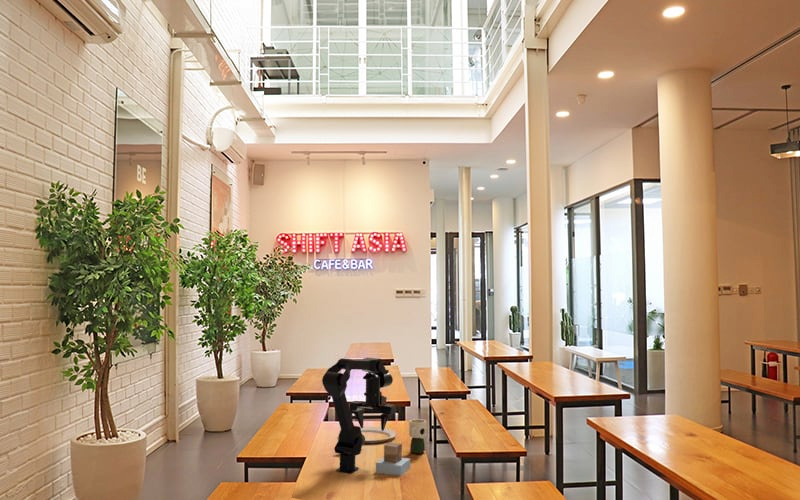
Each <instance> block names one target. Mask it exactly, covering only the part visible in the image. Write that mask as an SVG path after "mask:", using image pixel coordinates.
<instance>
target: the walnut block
mask: <svg viewBox="0 0 800 500" xmlns="http://www.w3.org/2000/svg"><path fill="white" fill-rule="evenodd" d="M383 458H384V461H386V462H392V463H397V462H399V461H400V460H402V458H403V444H402V443H401V442H392V441H389V442H387V443H385V444H384V445H383Z"/></svg>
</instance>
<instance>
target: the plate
mask: <svg viewBox="0 0 800 500" xmlns="http://www.w3.org/2000/svg"><path fill="white" fill-rule="evenodd" d="M359 427H360V426H359ZM360 428H361V427H360ZM361 433H376V434H377V433H378V434H383V435H386V436H388V438H384V439H377V440H375V439H373V440H371V439H370V440H365V443H364V444H377V443H381V442H382V443H383V442H386V441H388V440H390V439H392V438H394V437H396V435H397V433H396V431H395V430H393V429H390V428H387V427H385V428H384V430H383V431H382V429H381V426H363V428H361Z"/></svg>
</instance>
